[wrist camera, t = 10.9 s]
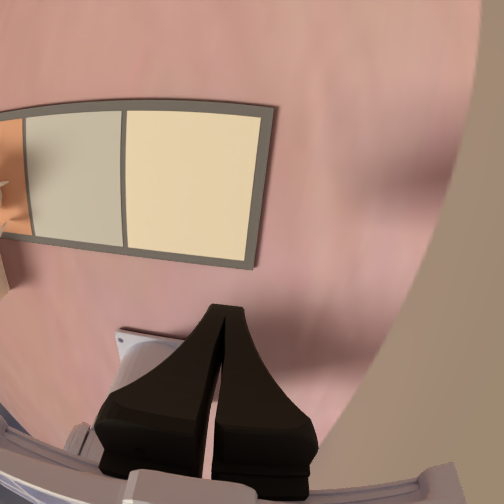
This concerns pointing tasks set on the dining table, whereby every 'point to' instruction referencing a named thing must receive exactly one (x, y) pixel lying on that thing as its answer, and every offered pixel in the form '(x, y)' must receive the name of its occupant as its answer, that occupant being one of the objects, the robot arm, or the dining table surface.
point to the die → (3, 281)
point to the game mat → (137, 178)
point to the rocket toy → (0, 229)
